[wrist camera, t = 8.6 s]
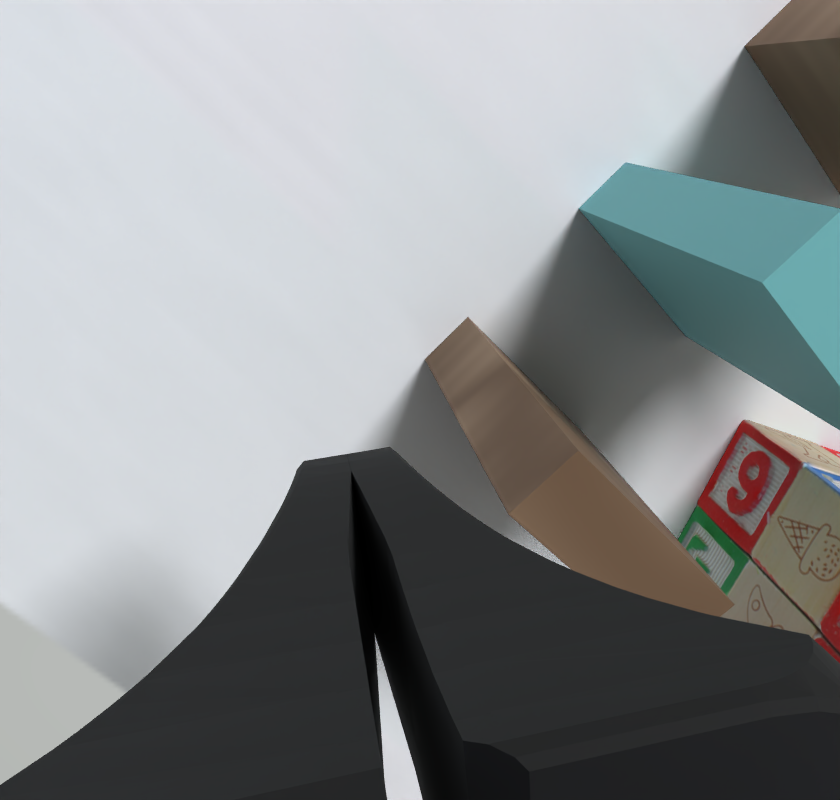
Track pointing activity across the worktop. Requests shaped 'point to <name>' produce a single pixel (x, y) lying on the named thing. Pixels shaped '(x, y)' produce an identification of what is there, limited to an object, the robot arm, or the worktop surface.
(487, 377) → the walnut domino
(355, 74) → the worktop surface
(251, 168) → the worktop surface
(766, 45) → the walnut domino
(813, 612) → the stack of blocks
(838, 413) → the teal domino
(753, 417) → the worktop surface
